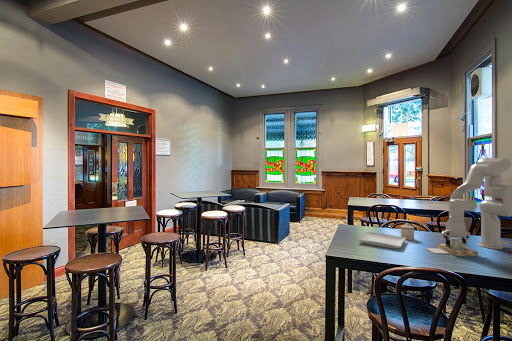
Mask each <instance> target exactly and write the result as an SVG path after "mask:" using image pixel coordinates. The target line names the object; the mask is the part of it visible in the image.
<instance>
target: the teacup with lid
mask: <svg viewBox="0 0 512 341" xmlns="http://www.w3.org/2000/svg"><path fill="white" fill-rule="evenodd" d="M400 237H405V238H406V239H405V241H414V240H415V227H414V226H413V225H411V224H410V223H408V222H406V223H405V224H402V225H400Z"/></svg>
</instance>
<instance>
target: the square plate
mask: <svg viewBox="0 0 512 341" xmlns="http://www.w3.org/2000/svg"><path fill="white" fill-rule="evenodd" d="M405 239H406V238H405V237H401V236H398V235H393V234H386V233H379V232H373V231H372V232H371V231H365V233H364V234H362V235H361V236H359V237H358V238H357V240H358V241H359V243H362V244H366V245H370V246H376V247H381V248H388V249H400V248H401V247H402V245H403V244H404V242H405V241H406V240H405Z"/></svg>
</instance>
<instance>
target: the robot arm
mask: <svg viewBox="0 0 512 341" xmlns="http://www.w3.org/2000/svg"><path fill="white" fill-rule="evenodd" d="M511 167H512V162H511V159H509V158H507V157H486V158H485V157H484V158H480V159H478V160H477V162H476V163H474V164H472V165H471V166H470V168H469V170H468V173H467V175H466V178H465V180H464V183H463V184H461V185H460V186H458V187H457V188H456V189H454V191H453V192H452V193H451V194H450V198H449V201H448V202H449V203H448V220H447V222H446V224H445V230H444V231H442V232H441V234H442V237H443V238H444V239H445V244H446V245H447V246H450V238H460V239H462V243H464V244H466V245H467V240H468V239H469V238H470V236H471V232H469V231H467V227H466V223H465V220H466V217H465V212H474V211H475V210H476V209H477V208H478V203H477V202H476V201H475V200H473V199H467V198H461V197H462V196H463V195H465V194H467V193H470V192H473V191H476V190H479V189H481V187H482V184H483V182H484V186H483V195H484V197H486V198H489V199H484V200H482V201H480V203H479V210H480V211H479V212H480V217H481V219H480V220H481V221H480V223H481V224H480V225H481V226H480V229H481V230H480V231H481V232H480V242H478V243H477V244H478V246H480V247H482V248H487V249H492V250H503V249H504V246H503V245H508V244H509V243H508V242H507V241H505V240H504V241H503V240H501V219H500V218H499V217H498V216H500V217H512V185H510V184H503V176H502V174H503V173H505V172H507V171H509V170H510V168H511ZM495 199H500V200H495Z"/></svg>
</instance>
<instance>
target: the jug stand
mask: <svg viewBox="0 0 512 341" xmlns="http://www.w3.org/2000/svg"><path fill="white" fill-rule="evenodd" d="M436 248H440V249H442V250H444V251H446V252H448V253H449V254H448V255H452V256H454V257H479V252H478V251H477V250H474V249H472V248H469V247H467V246H466V247H462V250H452V249H450V246H447V245H446V243H436Z"/></svg>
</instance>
